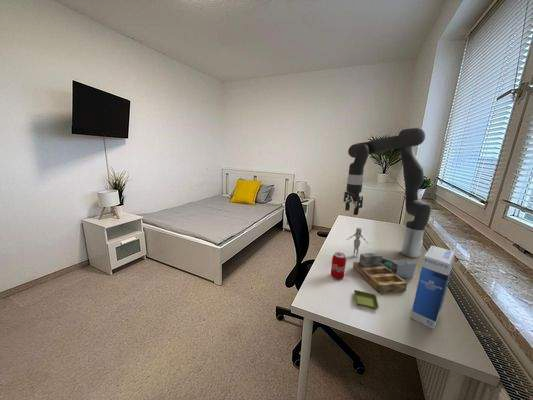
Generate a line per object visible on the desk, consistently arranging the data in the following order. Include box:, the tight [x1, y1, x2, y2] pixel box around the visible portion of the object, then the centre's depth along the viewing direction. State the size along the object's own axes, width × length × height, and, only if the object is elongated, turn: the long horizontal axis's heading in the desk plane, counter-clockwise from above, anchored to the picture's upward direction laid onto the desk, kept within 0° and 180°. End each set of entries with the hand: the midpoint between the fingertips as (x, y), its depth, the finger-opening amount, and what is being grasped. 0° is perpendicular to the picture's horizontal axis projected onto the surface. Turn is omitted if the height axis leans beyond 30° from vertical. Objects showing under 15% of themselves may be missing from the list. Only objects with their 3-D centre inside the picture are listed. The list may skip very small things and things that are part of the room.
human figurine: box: [346, 227, 369, 259], centre depth 123 cm, size 12×4×18 cm, turn 66°
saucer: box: [353, 289, 380, 310], centre depth 87 cm, size 9×9×2 cm
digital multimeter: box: [381, 257, 393, 270], centre depth 119 cm, size 7×15×3 cm, turn 44°
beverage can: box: [330, 252, 347, 281], centre depth 103 cm, size 6×6×12 cm
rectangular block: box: [390, 259, 416, 280], centre depth 105 cm, size 10×3×8 cm, turn 100°
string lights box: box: [410, 245, 456, 330], centre depth 78 cm, size 13×8×26 cm, turn 133°
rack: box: [352, 252, 408, 294], centre depth 102 cm, size 14×20×10 cm
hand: (351, 212), depth 115 cm, fingers open, 8 cm apart
